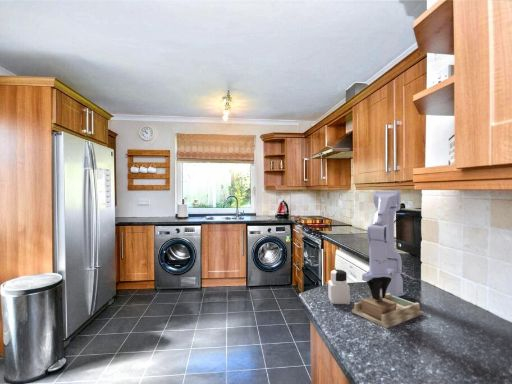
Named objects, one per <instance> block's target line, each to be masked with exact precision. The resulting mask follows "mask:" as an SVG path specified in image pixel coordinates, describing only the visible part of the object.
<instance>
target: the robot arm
mask: <svg viewBox="0 0 512 384" xmlns="http://www.w3.org/2000/svg"><path fill="white" fill-rule="evenodd" d="M401 197H402V196H401V191H399V189H398V190H375V191H374V192H373V197H372V199H373V204H374V206H375V208H376V210H377V211H376V212H374V213H373V217H372V219H371V223H370V226H369V225H368V226H367V230H366V231H367V232H366V235H367V245H368V247H369V249H368V251H369V252H368V253H369V255H368V256H369V257H368V258H369V259H368V260H369V261H368V262H369V270H368V271H366V272H365V273H362V274H361V275H362V277H361V280H362V281H363V282H366V284H367V285H368V287H369V290H370V294H371V297H373V299H376V300H379V298H380V289H381V288H382V298H385V294H387V293H390V294H391V295H393V296H395V297H398V298H400V297H402V296H405V295H406V294H405V293H404V289H403V288H404V286H403V285H404V282H403V281H404V279H403V277H402V275H401V273H402V269H403V267H402V266H403V265H402V256H401V254H400V253H398V252H397V251H396V250H395V215H396V212H399V211H400V209H401V202H402V201H401V199H402V198H401Z"/></svg>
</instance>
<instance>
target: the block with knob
mask: <svg viewBox="0 0 512 384" xmlns="http://www.w3.org/2000/svg"><path fill="white" fill-rule="evenodd" d="M360 301H361V310H362V311H363V312H365V313H367V314H370V315H372V316H374V317H376V318H379V319H381V315H383V314H385V313H388V312H391V311H394V310H396V306H397V304H396V302H393V301H390V300H387V299H385V298H382V288H381V289H380V298H379V300H376V299H373V297H372V296H369V297H366V298H363V299H360Z"/></svg>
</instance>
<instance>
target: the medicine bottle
mask: <svg viewBox="0 0 512 384" xmlns="http://www.w3.org/2000/svg"><path fill="white" fill-rule="evenodd" d="M347 281H348V279H347V272H346V271H344V270H343V269H333V270H331V271H330V279H329V280H328V281H327V284H328V287H327V288H328V290H327V292H328V299H329V301H330V304H332V305H334V304H335V305H350V304H351V292H350V291H351V286H350V285H349V283H348V282H347Z"/></svg>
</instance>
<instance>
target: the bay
mask: <svg viewBox="0 0 512 384" xmlns="http://www.w3.org/2000/svg"><path fill="white" fill-rule="evenodd" d="M385 299H387V300H390V301H393V302H396V304H397V306H396V310H394V311H391V312H388V313H385V314H383V315H381V319H379V318H376V317H374V316H372V315H370V314H367V313H365V312H363V311H362V310H361V300H360V301H358V302H354V303H353V308H352V309H351V313H353V314H354V315H357V316H360V317H362V318H364V319H366V320H368V321H370V322H372V323H374V324H377V325H379V326H381V327H384V328H385V329H388V328H389V329H390V328H392V327H394V326H396V325H399V324H402V323H404V322H407V321H409V320H411V319H414V318H417V317H419V316H422V315H423V314H424V313H423V310H420V306H421V305H420V303H419V302H412V301H410V300H408V299H407V300H406V299H404V298H401V297H395V296H393V295H391V294H390V293H387V294H385Z"/></svg>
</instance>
